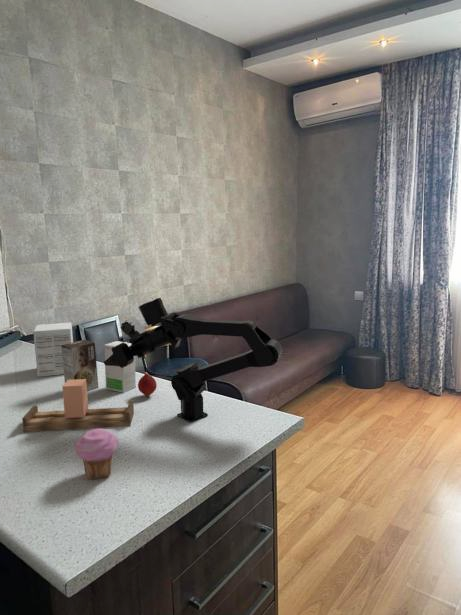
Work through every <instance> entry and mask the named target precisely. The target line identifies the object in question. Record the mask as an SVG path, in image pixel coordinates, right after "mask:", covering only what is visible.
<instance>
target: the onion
mask: <svg viewBox="0 0 461 615" xmlns="http://www.w3.org/2000/svg"><path fill="white" fill-rule="evenodd" d="M137 383H138V384H137V388H138V391H139V392H140V393H142V394H143V395H144V396H145V397H149V396H151V395H152V394H153V393H155V391H156V390H157V386H158V385H157V381H156V380H155V378H154V377H153V376H152V375H150V374H149V373H148V372H144V375H142V377H141V378H139V381H137Z"/></svg>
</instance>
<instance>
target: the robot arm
mask: <svg viewBox="0 0 461 615" xmlns="http://www.w3.org/2000/svg"><path fill="white" fill-rule="evenodd" d="M138 309H139V311H140V314H141V315H142V318H143V320H144V322H145V324H146V326H148V327H150V326H151V327H154V328H153V329H148V330H147V329H145V326H143V325H142V324H141V323H140V321H139V320H138V319H137V318H135V317H130V318H127V319H126V320H125V321H124V322H122V323H121V326H120V329H121V332H123V333H124V334H125V336H128V337H129V338H130V339H128V342H129V343H131V346H130V347H128V345H127V344H126V343H121V344H119V345H117V346H115V347H113V348H112V352H113V354H112V355H111V356H110V357H109V358H108V359H107V360H105V359H104V361H103V364H104V366H105V365H107V366H119V367H121V368H123V367H125V366H127V365H129V364H131V363H133V361H134V356H135V357H137V358H138V359H139V358H143V357H144V356H145V355H148V354H150V353H153V352H155V351H157V350H159V349H160V348H163V347H165V346H167V345H169V344H170V345H171V347H172V349H176V348H178V347H179V346H180V343H181V341H182V339H184V338H185V339H186V338H190V337H191V338H192V337H196V336H202V335H206V336H207V335H209V336H223V337H224V336H225V337H226V336H227V337H241V338H242V339H244V341H245V342H246V344H247V345H248V346H249V348H250V350H248V351H245V352H243V353H239V354H237V355H234V356H231V357H227V358H224V359H221V360H219V361H214V362H212V363H210V364H207V365H203V366H201V365H200V366H199V365H198V362H197V361H195V362H194V363H192V364H185V365H184V366H182V367H181V368H180V369H178V370H177V371H176V374H174V375H172V377H171V380H170V381H171V382H170V384H171V388H172V390H174V392H175V393H176V396H177V399H178V400H179V401H180V412H179V413H177V414H176V416H177V417H178V418H181V419H183V420H186V421H188V422H190V423H192V422H195V421H197V420H200V419H202V418H205V417H207V416H208V415H209V414H208V412H205V411H204V397H203V395H202V394H203V392H205V390H206V387H207V384H206V383H205V382H207V381H210V380H214V379H217V378H219V377H222V376H227V375H229V374H233V373H236V372H239V371H242V370H245V369H247V368H266V367H272V366H273V365H275V364H276V363H277V362H278V361H279V359H280V358H281V356H282V354H283V346H282V344H281V343H280V342H279V341H278V340H276V339H273V338H272V337H271V336H270V335H269V334H268V333H267V332H265V330H263V329H261V328H260V327H259V325H257V324H256V323H255V322H254V321H252V320H249V319H248V320H232V319H231V320H227V319H211V318H210V319H209V318H203V317H200V316H198V315H194V314H190V313H184V314H178V313H173V312H171V313H168V311H167V309H166V306H164V302H163V299H162V297H158V298H155V299H153V300H151V301H147V302H145V303H143V304H141V305H139V306H138ZM159 324H160V325H159ZM157 325H159V326H157Z"/></svg>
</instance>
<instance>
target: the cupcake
mask: <svg viewBox="0 0 461 615" xmlns="http://www.w3.org/2000/svg"><path fill="white" fill-rule="evenodd" d="M118 449H119V440H118V437H117V436H116V434H114V432H111V431H110V430H108V429H106V428H105V429H104V428H92V429H90V430H88V431H86V432H85V433H84V434H83V435H82V436H81V437H80V438H79V439H78V440H77V442H76V444H75V454H76V456H77V457H78V458H79V459H81V460H82V462H83V466H84V468H83V469H84V475H85V477H86V478H87V479H89V480H95V479H99V478H101V479H102V478H108V477H110V475H111V472H112V461H113V460H112V459H113V456H114V454H116V452H117V450H118Z"/></svg>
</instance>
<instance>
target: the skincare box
mask: <svg viewBox="0 0 461 615" xmlns="http://www.w3.org/2000/svg"><path fill="white" fill-rule="evenodd" d="M121 343H126V344H127V345H128V347H130V346H131V344H132V343H130V342H127V341H125V342H124V341H118V340H115V341H112V342H108V343H106V344H104V361H105V360H107V359H108V358H109V357H110V356H111V355H112V354H113V352H112V348H113V347H115V346H117V345H119V344H121ZM104 369H105V372H104V373H105V389H106V390H110V391H114V392H118V393H119V392H120V393H125V394H126V393H127V392H128V391H131V390H133V389H134V388H135V389H136V384H137V381H136V379H137V378H136V356H134V361H133V363H131V364H129V365H127V366H125V367H123V368H121V367H119V366H107V365H105V364H104Z"/></svg>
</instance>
